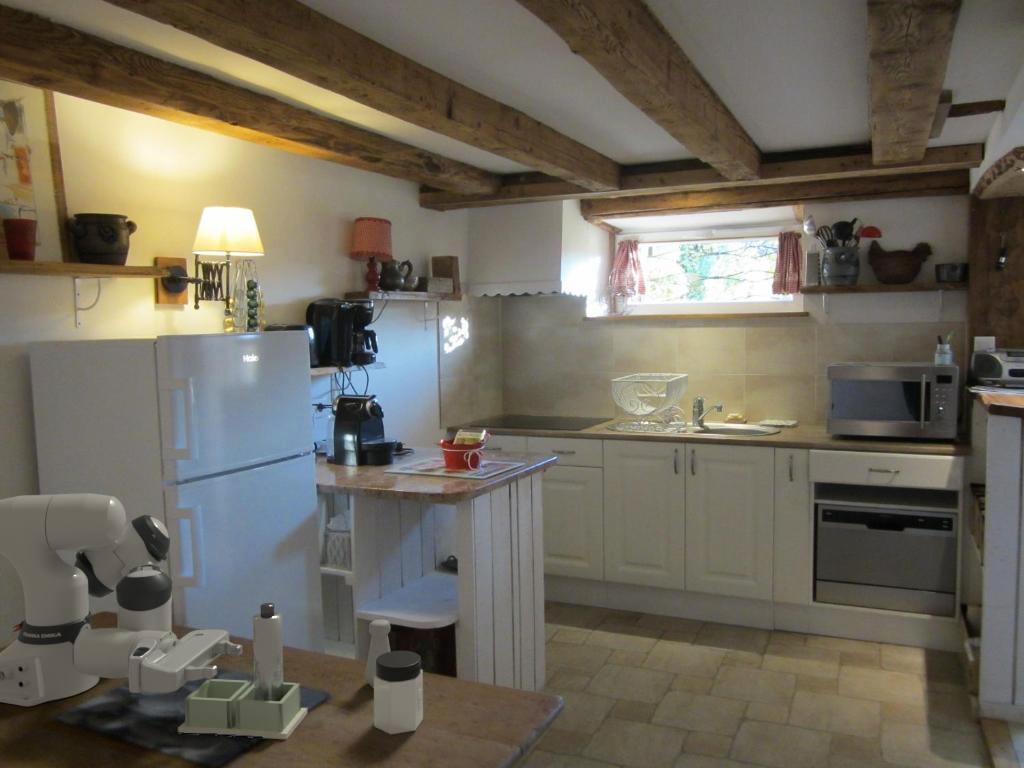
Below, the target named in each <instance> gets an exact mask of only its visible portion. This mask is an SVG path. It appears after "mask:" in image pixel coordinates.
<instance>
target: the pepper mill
mask: <svg viewBox="0 0 1024 768" xmlns="http://www.w3.org/2000/svg"><path fill="white" fill-rule="evenodd" d="M259 608H260V612H257V613H256V614H254V615H253V616H252V628H253V629H252V630H253V631H252V633H253V637H252V639H253V684H254V696H255V700H261V701H281V699H282V698H283V682H284V659H283V653H284V652H283V613H282V612H280V611H275V604H274V603H273V602H265V603H262V604H260V607H259Z"/></svg>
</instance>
